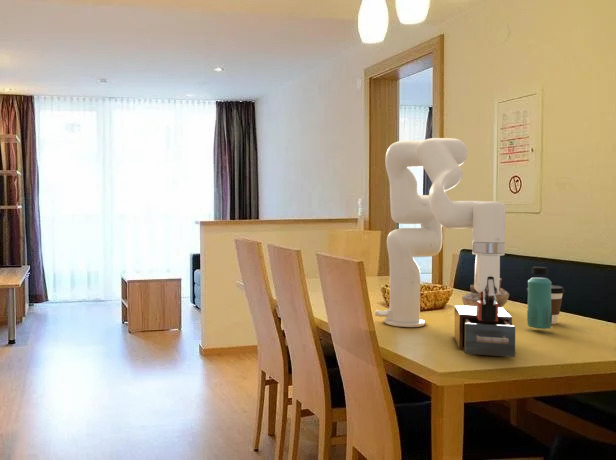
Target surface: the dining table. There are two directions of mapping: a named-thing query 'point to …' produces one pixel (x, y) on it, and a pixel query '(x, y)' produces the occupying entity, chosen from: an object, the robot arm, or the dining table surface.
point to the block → (479, 310)
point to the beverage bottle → (539, 300)
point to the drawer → (488, 337)
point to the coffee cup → (556, 301)
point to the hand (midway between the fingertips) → (487, 317)
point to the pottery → (473, 296)
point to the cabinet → (471, 313)
